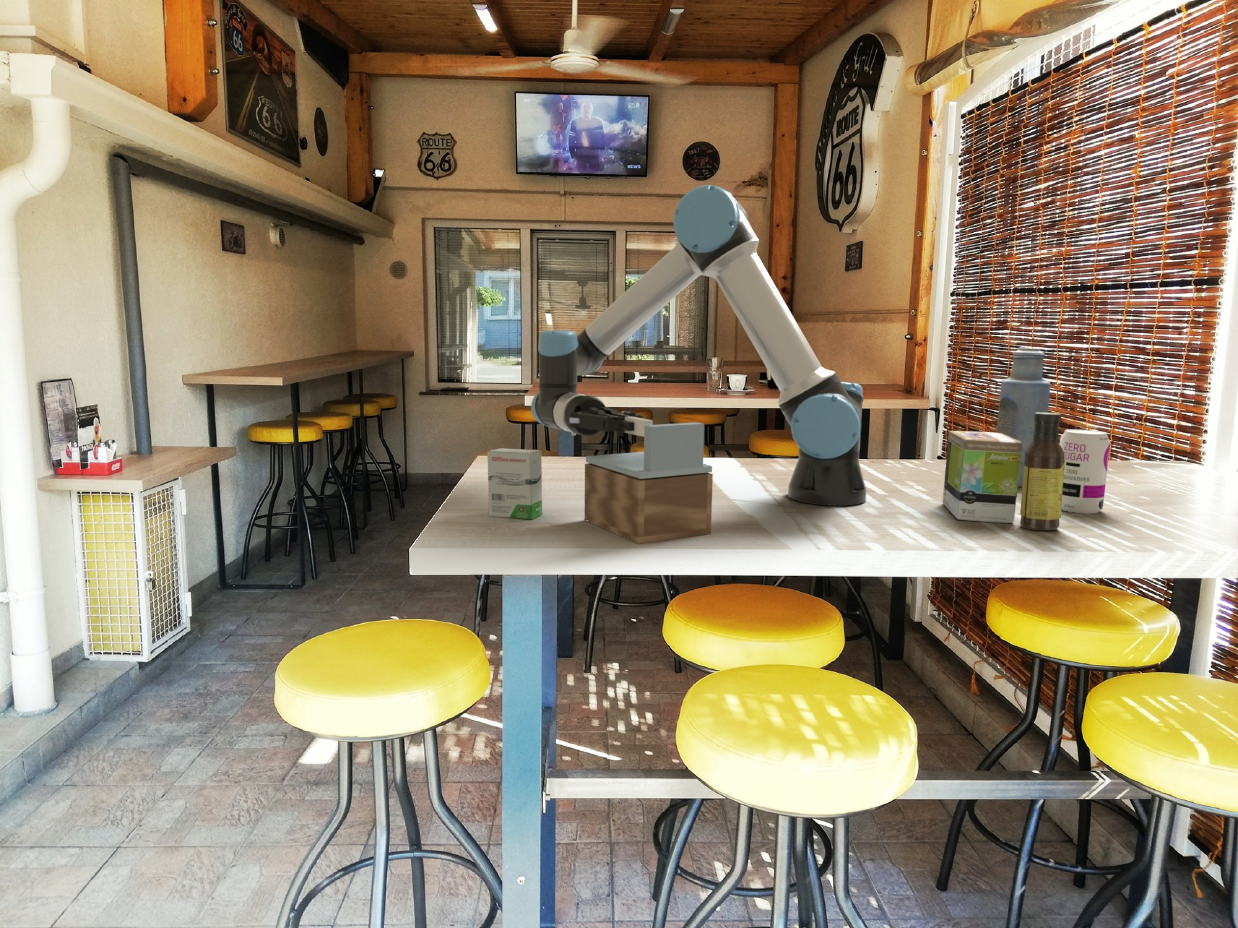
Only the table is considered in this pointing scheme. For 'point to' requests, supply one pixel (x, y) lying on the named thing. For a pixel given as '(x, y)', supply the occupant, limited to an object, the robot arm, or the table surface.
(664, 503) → the crate
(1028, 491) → the sauce bottle
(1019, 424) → the bottle
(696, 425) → the lid
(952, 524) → the table surface
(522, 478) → the ink box
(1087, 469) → the supplement can
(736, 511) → the table surface
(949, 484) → the tea box
